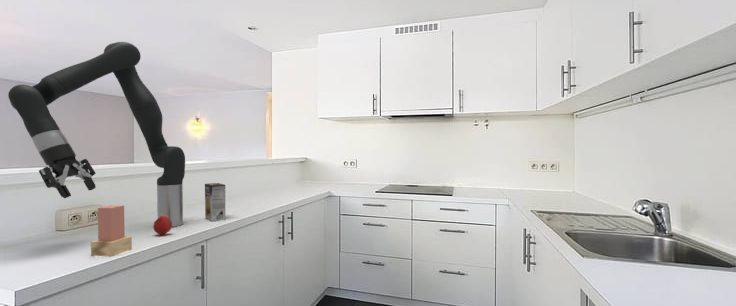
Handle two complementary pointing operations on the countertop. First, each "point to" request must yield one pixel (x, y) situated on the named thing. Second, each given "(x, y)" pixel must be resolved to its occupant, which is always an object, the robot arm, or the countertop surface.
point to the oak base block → (111, 246)
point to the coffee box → (215, 201)
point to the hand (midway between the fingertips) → (80, 193)
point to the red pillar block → (111, 223)
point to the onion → (162, 225)
